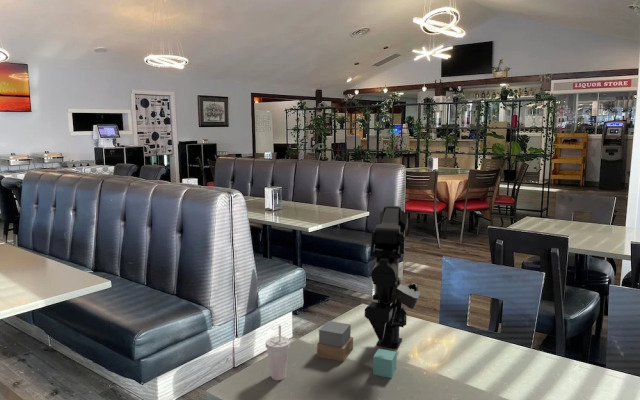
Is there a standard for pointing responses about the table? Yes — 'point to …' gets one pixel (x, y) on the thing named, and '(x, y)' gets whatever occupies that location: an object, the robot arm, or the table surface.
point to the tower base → (335, 351)
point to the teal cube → (384, 363)
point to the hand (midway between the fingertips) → (385, 332)
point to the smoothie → (278, 355)
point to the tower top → (334, 333)
